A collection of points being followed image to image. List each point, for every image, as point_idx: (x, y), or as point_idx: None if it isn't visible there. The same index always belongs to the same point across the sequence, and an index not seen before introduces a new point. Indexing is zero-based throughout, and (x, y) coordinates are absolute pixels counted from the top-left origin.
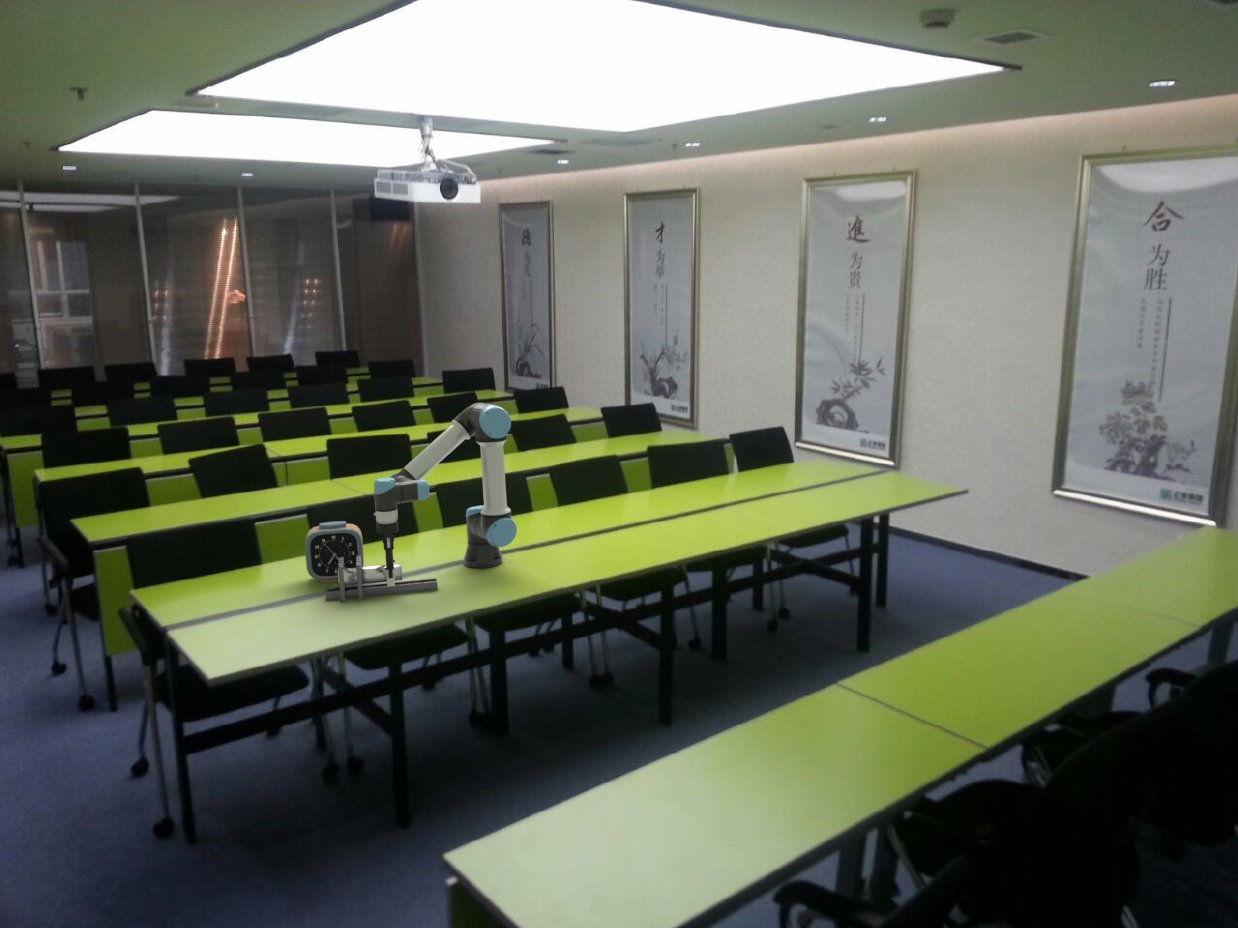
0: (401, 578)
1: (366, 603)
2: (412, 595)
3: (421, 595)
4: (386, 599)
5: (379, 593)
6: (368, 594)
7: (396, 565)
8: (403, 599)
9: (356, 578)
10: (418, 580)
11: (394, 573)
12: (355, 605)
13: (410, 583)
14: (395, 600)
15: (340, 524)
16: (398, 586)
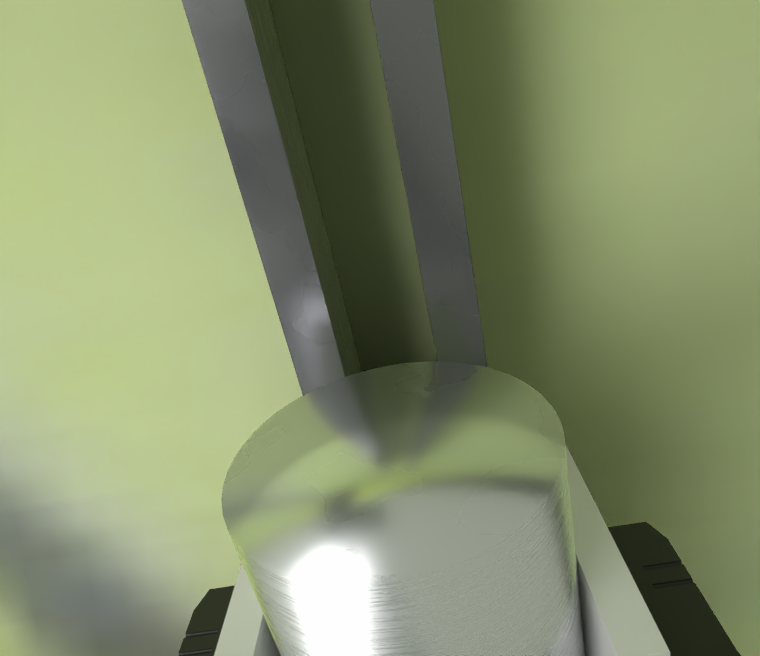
0: (506, 384)
1: (710, 561)
2: (584, 148)
3: (619, 9)
4: (648, 420)
5: None
6: None
7: (477, 649)
8: (713, 240)
9: None
10: (268, 109)
11: (574, 549)
12: (732, 625)
13: (419, 221)
14: (717, 325)
15: None
16: None
